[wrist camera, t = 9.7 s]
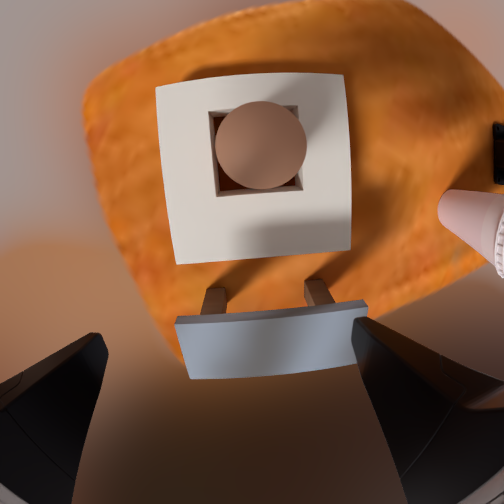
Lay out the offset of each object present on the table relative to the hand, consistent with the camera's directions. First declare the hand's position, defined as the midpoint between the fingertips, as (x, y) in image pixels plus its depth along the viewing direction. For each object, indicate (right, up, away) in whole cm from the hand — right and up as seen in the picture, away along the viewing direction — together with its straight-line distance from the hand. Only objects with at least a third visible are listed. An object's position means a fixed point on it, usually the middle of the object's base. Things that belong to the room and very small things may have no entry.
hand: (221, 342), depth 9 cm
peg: (+1, +10, +10) cm, 14 cm away
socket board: (+1, +10, +10) cm, 14 cm away
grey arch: (+2, +1, +14) cm, 14 cm away
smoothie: (+20, +7, +12) cm, 24 cm away
